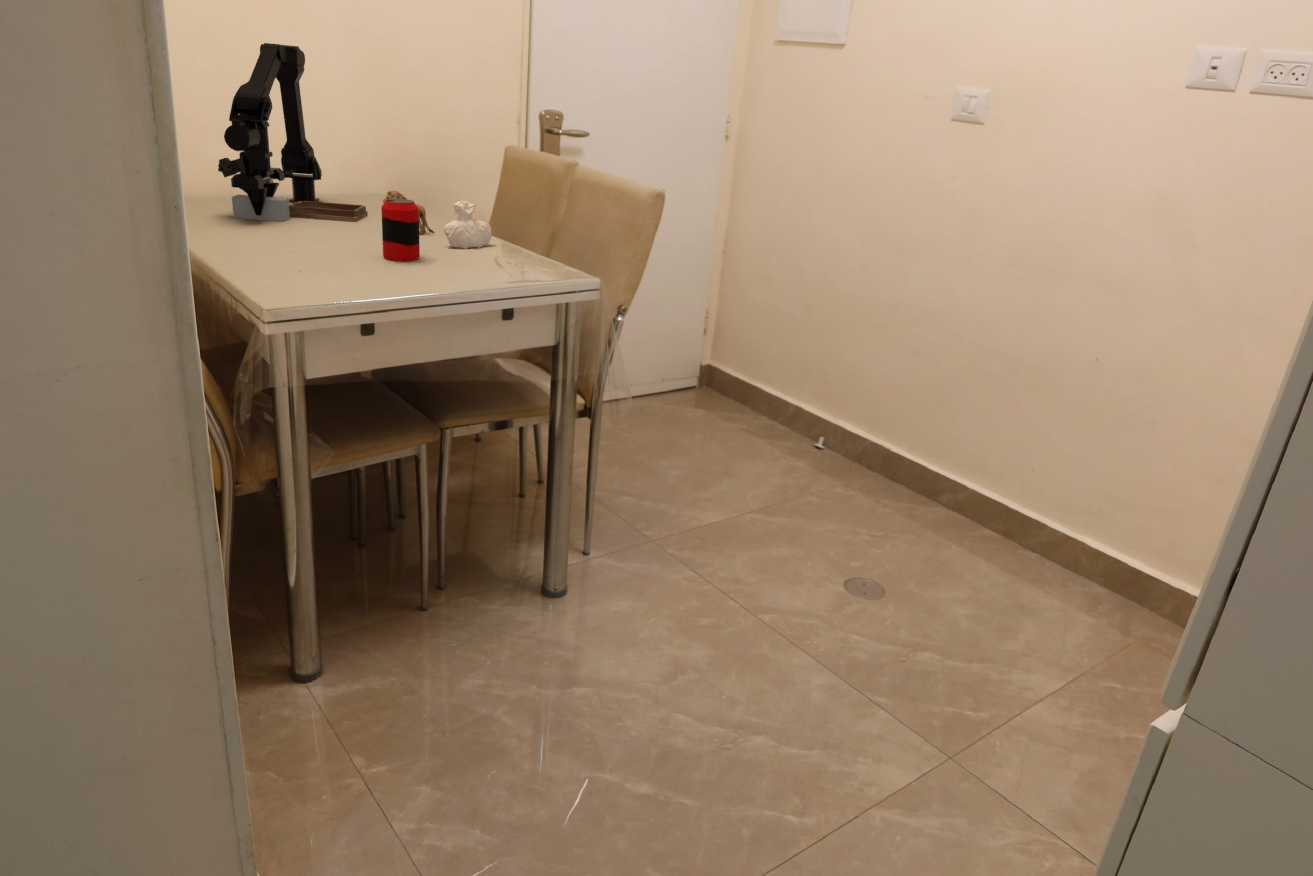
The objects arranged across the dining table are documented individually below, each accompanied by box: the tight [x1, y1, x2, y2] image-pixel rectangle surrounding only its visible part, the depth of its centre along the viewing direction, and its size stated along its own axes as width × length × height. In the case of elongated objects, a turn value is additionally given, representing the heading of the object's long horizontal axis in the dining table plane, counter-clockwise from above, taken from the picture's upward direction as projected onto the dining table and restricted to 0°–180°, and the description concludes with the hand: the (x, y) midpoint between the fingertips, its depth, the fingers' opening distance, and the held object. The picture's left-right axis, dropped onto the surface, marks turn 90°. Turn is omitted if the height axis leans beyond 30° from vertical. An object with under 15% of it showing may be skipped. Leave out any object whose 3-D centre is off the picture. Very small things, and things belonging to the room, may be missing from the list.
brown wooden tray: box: [289, 201, 368, 223], centre depth 232 cm, size 11×17×2 cm, turn 92°
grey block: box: [231, 194, 291, 222], centre depth 221 cm, size 4×12×5 cm, turn 92°
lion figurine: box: [382, 190, 435, 236], centre depth 221 cm, size 15×5×9 cm, turn 63°
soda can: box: [380, 198, 421, 262], centre depth 192 cm, size 8×8×12 cm
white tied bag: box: [443, 200, 492, 250], centre depth 210 cm, size 12×8×11 cm
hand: (261, 213), depth 222 cm, fingers closed on grey block, 4 cm apart
